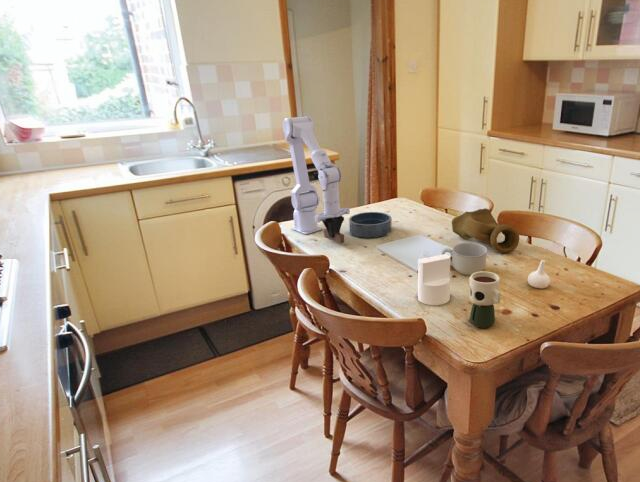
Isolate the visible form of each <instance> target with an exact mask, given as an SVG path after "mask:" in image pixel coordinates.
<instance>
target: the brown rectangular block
mask: <svg viewBox="0 0 640 482" xmlns="http://www.w3.org/2000/svg"><path fill="white" fill-rule="evenodd" d="M323 236H324V238H325V239H328V240H330V241H333V242H335V243H338V244H340V245H341V244H345V241H346V240H345V234H344V233H341V232H340V233H339V232H336V231H334V238H331V237H329V234H328V231H327V229H326V228H324V229H323Z"/></svg>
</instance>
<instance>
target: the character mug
mask: <svg viewBox="0 0 640 482" xmlns="http://www.w3.org/2000/svg"><path fill="white" fill-rule="evenodd" d="M500 284H501V278H500V276H499V275H498V274H496V273H495V272H492V271H488V270H487V271H484V270H482V271H480V272H475V273H473V274H472V275H471V276H469V278H468V287H469V290H468V291H469V292H468V296H469V297H468V298H469V300H470V302H471V303H472V304H471V310H470V315H469V322H470V324H472V323H473V326H474V327H477V328H485V329H486V328H488V327H492V326H493V325H494V324H495V322H496V315H495V314H496V312H495V304H500V303H501V296H502V292H501V291H500V286H501V285H500Z"/></svg>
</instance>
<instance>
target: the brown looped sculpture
mask: <svg viewBox="0 0 640 482" xmlns="http://www.w3.org/2000/svg"><path fill="white" fill-rule="evenodd" d="M451 230H452V233H454V234H455V235H457V236H458V237H460V238H461V239H463V240H468V239H474V240H477V241H479V242H482V243H486V244H489V245H491V247H492V248H493V249H494V250H495V251H496V252H498V253H500V254H509V253H511V252H513V251H515V250H516V249H517V247H518V246H519V243H520V234H519V231H518V230H517V229H516V227H514V226H513V225H511V224H505V223H504V224H499V223H498V222H497V221H496V219H495V217H494V216H493V213H492V212H491V211H490V210H489V208H487V207H486V208H485V207H484V208H479V209H477V210H473V211H465V212H463V213H462V214H460V215H458V216H455V217H453V218H452V219H451ZM501 233H502V235H503V236H504V240H502V241H500V242H498V241H497V240H498V237H499V235H500V234H501Z"/></svg>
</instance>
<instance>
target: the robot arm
mask: <svg viewBox="0 0 640 482" xmlns="http://www.w3.org/2000/svg"><path fill="white" fill-rule="evenodd" d="M282 122H283V123H282V131H283V135H284V139H285V141H286V142H288V145H289V150H290V151H289V152H290V157H291V160H292V167H293V173H294V178H295V182H296V185H295V187H293V189H292V190H291V191H290V194H291V205H292V208H293V209H294V211H293V214H292V215H293V224H294V225H293V226H294V227H292V230H294V231H296V232H298V233H301V234H304V235H308V234H312V233H315V232H319V231H322V230H323V228H322V227H319V226H318V224H319V223H321V222H322V223H323V225H324V227H325V229H327V231H328V234H329V237H331V238H334V231H336V232H339V233H341V232H340V231H341V228H342V225H343V223H344V221H345V216H344V215H350V212H351V211H350V210H351V209H350V208H348V207H343V208H341V204H340V203H341V202H340V187H339V183H340V182H341V180H342V173H341V170H340V168H339V167H338V166H337V165H336V164H334V163H332V161H331V159H330V157H329V156H328V153H327V152H326V150H325V149H321V147H320V144H319V142H318V140H317V137H316V135H315V133H314V130H315V126H314V125H315V124H314V121H313V119H312V118H311V116H310V115H305V116H295V117H285V118H284V120H283V121H282ZM303 143H304V144H305V145H306V147H307V149H308V150H309V152H310V153H311V155H310V159H311V161H312V164H313V165H314V167H315V168H316V171H317V172H318V175H317V178H318V181H319V183H320V188H321V189H320V190H322V200H323V201H322V202H323V212H321V213H320V214H318V215H317V210H316V209H318V206H319V205H320V196H319V193H318V189H317V187H316V186H314V185H312V183H310V177H309V172H308V167H307V161H306V155H305V150H304V144H303Z"/></svg>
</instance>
